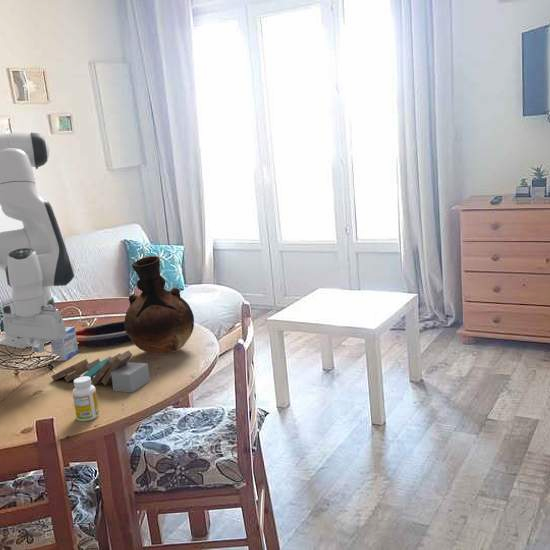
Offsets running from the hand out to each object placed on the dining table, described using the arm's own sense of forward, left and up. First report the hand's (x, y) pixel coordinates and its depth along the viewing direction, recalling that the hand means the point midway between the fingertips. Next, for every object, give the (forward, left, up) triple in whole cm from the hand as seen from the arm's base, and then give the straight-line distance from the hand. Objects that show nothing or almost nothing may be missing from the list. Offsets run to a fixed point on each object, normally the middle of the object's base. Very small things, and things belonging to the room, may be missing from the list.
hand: (38, 351), depth 183 cm
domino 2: (+11, 0, -7) cm, 13 cm away
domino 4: (+21, 0, -7) cm, 22 cm away
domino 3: (+16, 0, -7) cm, 18 cm away
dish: (-1, +32, -8) cm, 32 cm away
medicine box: (-4, +15, -8) cm, 17 cm away
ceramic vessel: (+26, +25, -7) cm, 36 cm away
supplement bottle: (+34, -19, -7) cm, 39 cm away
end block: (+32, 0, -7) cm, 33 cm away
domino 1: (+7, 0, -7) cm, 9 cm away
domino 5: (+25, 0, -6) cm, 26 cm away
